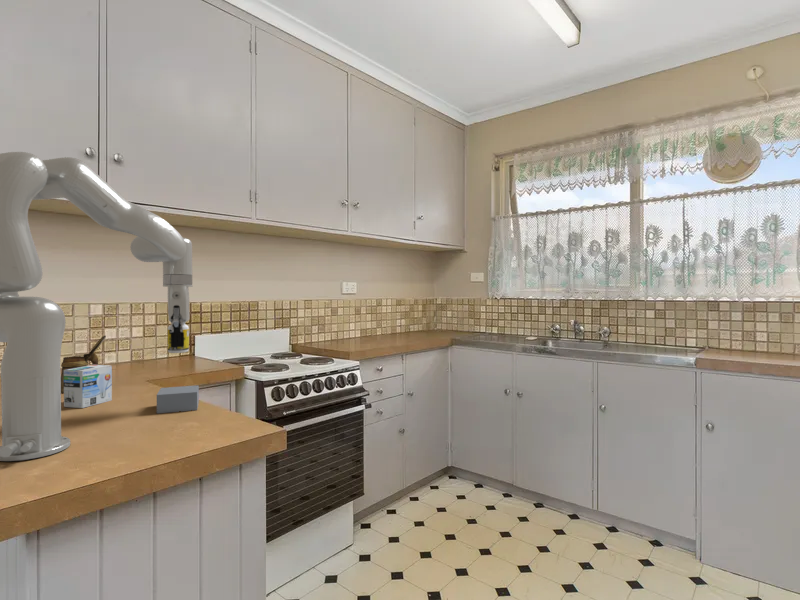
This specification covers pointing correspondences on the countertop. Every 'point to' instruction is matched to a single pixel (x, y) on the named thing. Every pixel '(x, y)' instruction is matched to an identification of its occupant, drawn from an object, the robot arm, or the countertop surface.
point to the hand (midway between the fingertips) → (178, 344)
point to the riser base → (177, 399)
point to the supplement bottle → (186, 339)
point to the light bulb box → (87, 386)
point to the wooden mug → (79, 361)
